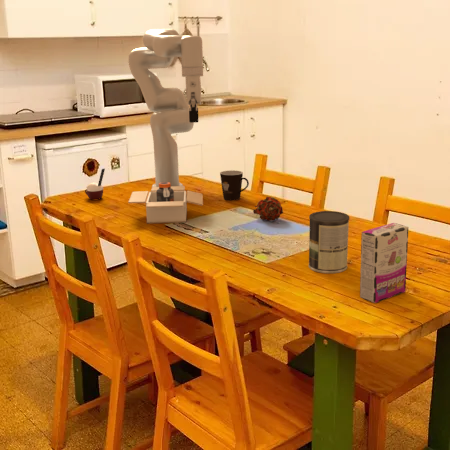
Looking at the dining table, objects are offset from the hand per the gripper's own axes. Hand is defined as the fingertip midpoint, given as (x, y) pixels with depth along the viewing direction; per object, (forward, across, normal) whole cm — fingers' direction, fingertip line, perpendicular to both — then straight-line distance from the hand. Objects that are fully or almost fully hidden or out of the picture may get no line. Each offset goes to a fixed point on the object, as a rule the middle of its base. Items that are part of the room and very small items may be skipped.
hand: (194, 120), depth 231 cm
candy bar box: (+31, -94, -44) cm, 108 cm away
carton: (+30, -20, +13) cm, 38 cm away
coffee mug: (+31, +2, -14) cm, 34 cm away
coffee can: (+31, -74, -35) cm, 87 cm away
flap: (+23, -20, +4) cm, 30 cm away
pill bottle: (+30, -19, +10) cm, 37 cm away
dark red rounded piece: (+31, -27, -24) cm, 47 cm away
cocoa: (+31, +9, +39) cm, 50 cm away
